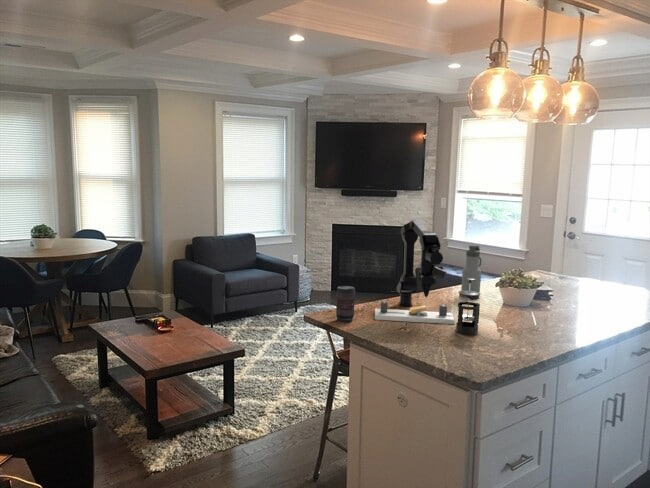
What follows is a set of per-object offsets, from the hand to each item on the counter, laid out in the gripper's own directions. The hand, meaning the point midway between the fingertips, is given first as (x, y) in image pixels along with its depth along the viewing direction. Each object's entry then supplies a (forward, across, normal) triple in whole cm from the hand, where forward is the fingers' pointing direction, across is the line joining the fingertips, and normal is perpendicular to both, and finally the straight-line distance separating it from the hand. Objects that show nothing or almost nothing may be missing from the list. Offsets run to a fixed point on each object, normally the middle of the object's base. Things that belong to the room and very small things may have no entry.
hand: (425, 295), depth 247 cm
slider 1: (+9, 0, +18) cm, 20 cm away
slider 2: (+8, 0, -8) cm, 12 cm away
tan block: (+7, 0, +3) cm, 7 cm away
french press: (+11, -17, -17) cm, 26 cm away
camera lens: (+11, -11, +35) cm, 39 cm away
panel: (+11, 0, +5) cm, 12 cm away
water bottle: (+11, +52, -29) cm, 60 cm away
